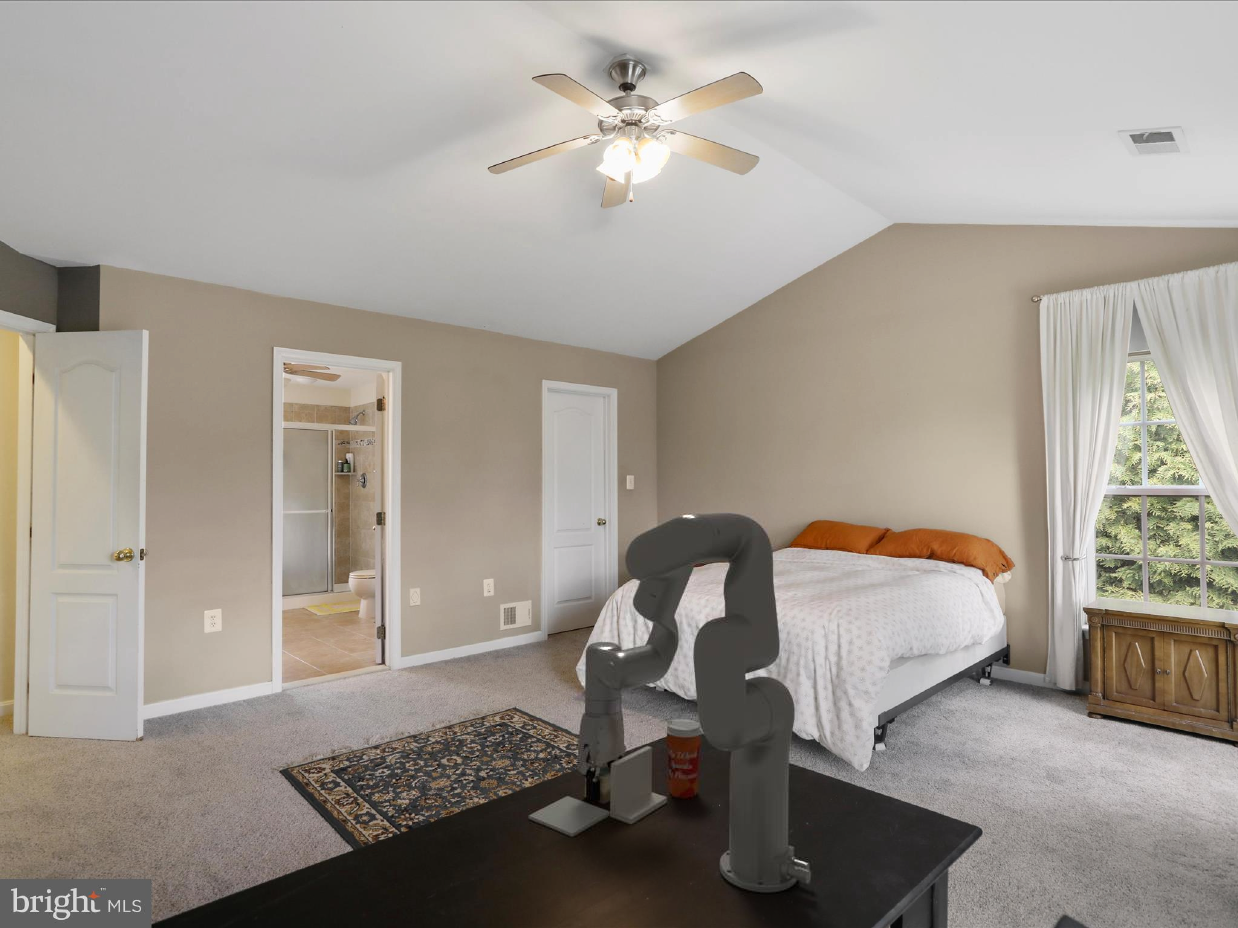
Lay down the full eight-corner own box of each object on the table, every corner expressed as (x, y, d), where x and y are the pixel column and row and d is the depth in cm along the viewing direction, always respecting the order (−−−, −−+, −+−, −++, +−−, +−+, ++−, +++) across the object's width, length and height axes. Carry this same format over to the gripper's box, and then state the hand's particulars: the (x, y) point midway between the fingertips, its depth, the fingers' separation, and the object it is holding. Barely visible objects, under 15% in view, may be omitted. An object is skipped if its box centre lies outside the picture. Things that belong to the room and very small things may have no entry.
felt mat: (610, 814, 137) (610, 811, 137) (572, 836, 128) (572, 833, 128) (567, 798, 144) (567, 795, 144) (528, 818, 135) (528, 815, 135)
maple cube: (619, 795, 146) (619, 769, 146) (603, 803, 142) (604, 777, 142) (600, 788, 149) (600, 763, 149) (584, 796, 145) (585, 770, 145)
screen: (666, 802, 143) (667, 751, 143) (631, 824, 133) (631, 770, 134) (646, 795, 146) (647, 745, 146) (610, 816, 136) (610, 763, 137)
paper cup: (660, 797, 145) (661, 727, 145) (669, 782, 152) (669, 716, 153) (698, 802, 143) (699, 732, 143) (705, 787, 150) (706, 720, 150)
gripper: (614, 691, 155) (613, 776, 154) (561, 710, 141) (560, 803, 141) (642, 698, 150) (641, 785, 150) (590, 718, 137) (589, 814, 136)
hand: (601, 793), depth 145 cm, fingers closed on maple cube, 5 cm apart
